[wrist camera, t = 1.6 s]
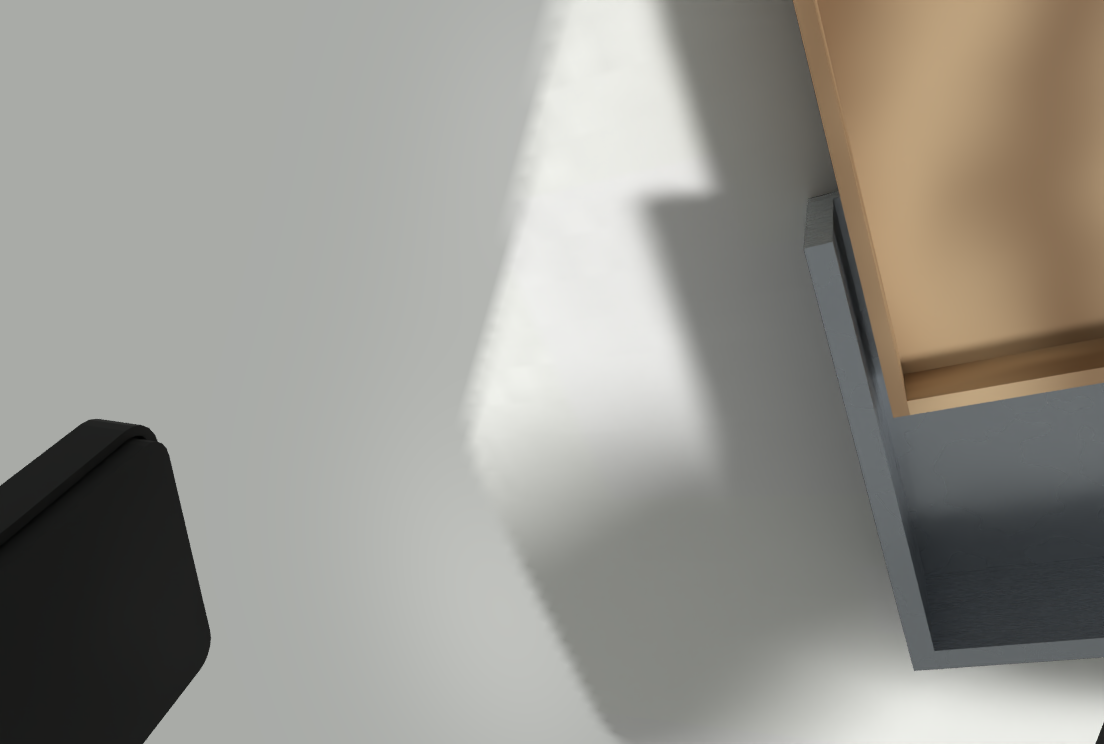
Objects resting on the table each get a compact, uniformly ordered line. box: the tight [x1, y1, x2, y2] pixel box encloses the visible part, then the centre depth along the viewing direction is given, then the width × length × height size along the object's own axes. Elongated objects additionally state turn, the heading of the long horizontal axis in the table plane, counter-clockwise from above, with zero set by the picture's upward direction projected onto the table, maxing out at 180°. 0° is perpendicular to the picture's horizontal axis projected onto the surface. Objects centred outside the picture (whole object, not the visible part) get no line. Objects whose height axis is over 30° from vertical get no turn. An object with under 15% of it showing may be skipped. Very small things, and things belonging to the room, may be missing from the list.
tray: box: [793, 0, 1104, 418], centre depth 24 cm, size 15×16×7 cm
